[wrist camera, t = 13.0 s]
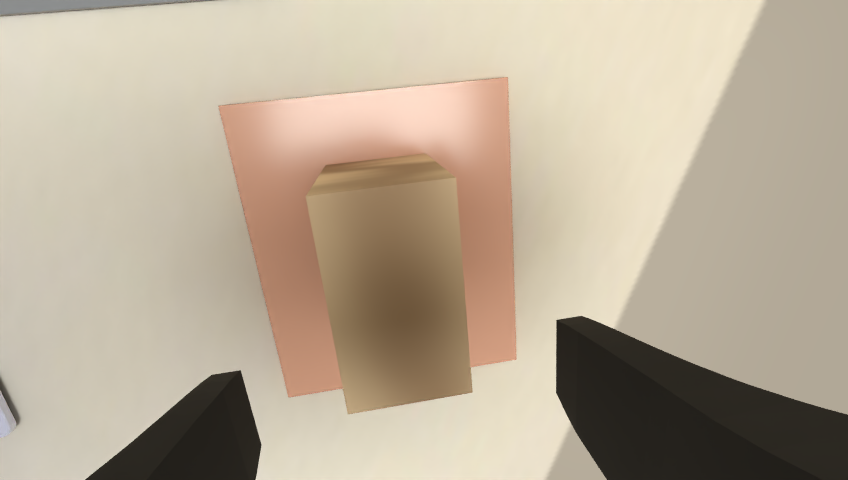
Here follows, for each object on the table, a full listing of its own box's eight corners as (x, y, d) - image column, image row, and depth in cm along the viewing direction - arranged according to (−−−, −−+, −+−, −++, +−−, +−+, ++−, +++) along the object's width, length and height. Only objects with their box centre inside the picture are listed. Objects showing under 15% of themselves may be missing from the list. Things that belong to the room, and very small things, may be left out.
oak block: (353, 321, 19) (348, 414, 13) (325, 165, 17) (305, 196, 11) (440, 307, 19) (472, 392, 14) (425, 153, 17) (455, 177, 11)
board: (290, 391, 20) (288, 397, 20) (221, 105, 16) (218, 105, 15) (513, 354, 21) (516, 359, 21) (504, 77, 17) (507, 77, 17)
